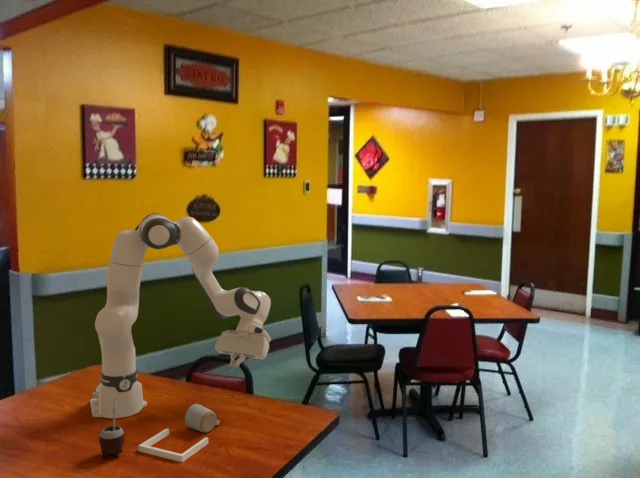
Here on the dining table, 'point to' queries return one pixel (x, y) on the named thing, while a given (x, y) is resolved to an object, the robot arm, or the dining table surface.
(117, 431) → the mate gourd
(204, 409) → the ceramic mug
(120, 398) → the robot arm
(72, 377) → the dining table surface
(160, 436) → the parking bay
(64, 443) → the dining table surface
